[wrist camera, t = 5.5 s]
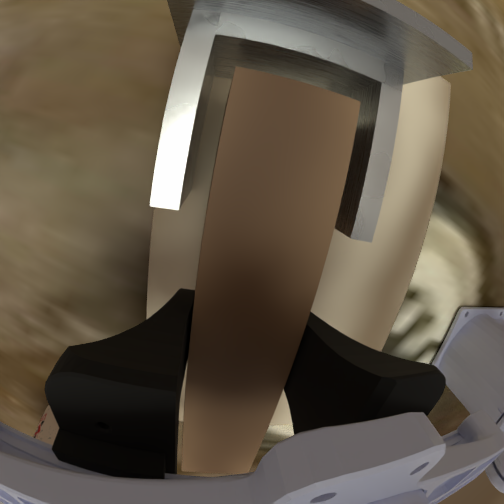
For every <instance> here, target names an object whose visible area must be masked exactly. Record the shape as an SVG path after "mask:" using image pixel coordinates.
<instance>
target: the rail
mask: <svg viewBox="0 0 504 504" xmlns="http://www.w3.org/2000/svg"><path fill="white" fill-rule="evenodd" d="M360 103H361V102H360V101H357V100H355V99H352V98H349V97H347V96H344V95H341V94H338V93H335V92H333V91H330V90H327V89H323V88H320V87H317V86H314V85H311V84H307V83H304V82H300V81H297V80H293V79H289V78H286V77H282V76H278V75H274V74H269V73H265V72H261V71H256V70H251V69H246V68H241V67H235V71H234V75H233V78H232V82H231V86H230V90H229V94H228V98H227V103H226V107H225V112H224V117H223V122H222V126H221V131H220V136H219V141H218V147H217V152H216V157H215V163H214V168H213V174H212V179H211V185H210V191H209V197H208V203H207V209H206V215H205V221H204V228H203V234H202V241H201V248H200V255H199V263H198V270H197V278H196V286H195V297H194V305H193V314H192V323H191V333H190V343H189V353H188V361H187V372H186V385H185V399H184V415H183V438H182V471H188V472H202V473H226V474H243V473H248V472H249V470H250V468H251V466H252V463H253V461H254V459H255V457H256V455H257V452H258V450H259V448H260V445H261V443H262V441H263V439H264V436H265V434H266V431H267V429H268V427H269V424H270V422H271V419H272V417H273V415H274V412H275V410H276V407H277V405H278V402H279V399H280V397H281V394H282V392H283V389H284V386H285V384H286V381H287V378H288V376H289V373H290V370H291V368H292V365H293V362H294V359H295V356H296V354H297V351H298V348H299V345H300V342H301V339H302V336H303V333H304V330H305V327H306V324H307V321H308V318H309V315H310V312H311V308H312V305H313V302H314V299H315V296H316V292H317V289H318V286H319V282H320V279H321V275H322V272H323V268H324V265H325V261H326V258H327V254H328V251H329V247H330V243H331V239H332V236H333V232H334V228H335V224H336V220H337V216H338V212H339V208H340V203H341V199H342V195H343V191H344V186H345V182H346V177H347V172H348V168H349V163H350V158H351V153H352V148H353V143H354V138H355V132H356V127H357V121H358V115H359V109H360Z"/></svg>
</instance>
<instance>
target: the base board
mask: <svg viewBox="0 0 504 504" xmlns="http://www.w3.org/2000/svg"><path fill="white" fill-rule="evenodd" d="M231 82H232V79H228V78H221V77H215V76H214V79H213V83H212V87H211V92H210V96H209V101H208V105H207V110H206V115H205V119H204V124H203V129H202V134H201V139H200V145H199V150H198V155H197V161H196V167H195V172H194V178H193V184H192V191H191V192H190V194H189V195H188V197H187V198H186V200H185V201H184V203H183V204H182V206H181V208H180V209H179V210H174V209H166V208H159V207H154V212H153V221H152V231H151V242H150V255H149V269H148V289H147V319H148V318H149V317H151V316H152V315H153V314H154V313H156V312H157V311H158V310H159V309H160V308H162V307H163V306H164V305H165V304H166V303H167V302H168V301H169V300H170V299H171V298H172V297H173V295H174V294H175V293H176V292H177V291H178V290H179V289H180V288H184V289H191V290H195V286H196V278H197V270H198V263H199V255H200V248H201V241H202V234H203V228H204V221H205V215H206V209H207V203H208V197H209V191H210V185H211V179H212V174H213V168H214V163H215V157H216V152H217V147H218V141H219V136H220V131H221V126H222V122H223V117H224V112H225V107H226V103H227V98H228V94H229V90H230V86H231ZM450 90H451V83H449V82H448V81H446V80H445V79H443V78H442V77H440V76H437V77H433V78H428V79H424V80H420V81H416V82H412V83H408V84H404V85H403V88H402V97H401V105H400V112H399V120H398V126H397V133H396V139H395V144H394V150H393V155H392V161H391V166H390V171H389V175H388V180H387V185H386V189H385V193H384V198H383V202H382V206H381V210H380V214H379V218H378V222H377V225H376V229H375V233H374V236H373V240H372V243H371V242H366V241H360V240H355V239H350V238H349V237H347V236H346V235H344V234H343V233H341V232H340V231H338V230H336V229H335V228H334V232H333V236H332V239H331V243H330V247H329V251H328V254H327V258H326V261H325V265H324V268H323V272H322V275H321V279H320V282H319V286H318V289H317V292H316V296H315V299H314V302H313V305H312V308H311V312H312V313H313V314H315V315H316V316H318V317H319V318H320V319H322V320H323V321H325V322H326V323H328V324H329V325H330V326H332V327H333V328H335V329H337V330H338V331H340V332H341V333H343V334H345V335H346V336H348V337H350V338H352V339H354V340H356V341H358V342H360V343H362V344H363V345H366V346H368V347H370V348H372V349H375V350H378V351H380V352H381V350H382V348H383V346H384V344H385V342H386V340H387V338H388V335H389V333H390V331H391V329H392V327H393V324H394V322H395V320H396V317H397V315H398V312H399V310H400V308H401V305H402V303H403V300H404V298H405V295H406V292H407V290H408V287H409V284H410V282H411V279H412V276H413V273H414V270H415V267H416V264H417V261H418V258H419V255H420V252H421V249H422V246H423V242H424V239H425V235H426V232H427V228H428V225H429V221H430V217H431V213H432V209H433V205H434V201H435V197H436V192H437V188H438V183H439V178H440V173H441V167H442V162H443V156H444V149H445V142H446V135H447V126H448V117H449V105H450ZM187 361H188V360H187ZM186 372H187V365H186V370H185V375H184V381H183V386H182V391H181V397H180V408H179V421H183V415H184V399H185V385H186ZM269 425H293V424H292V419H291V414H290V409H289V405H288V401H287V398H286V395H285V392H284V389H283V392H282V394H281V397H280V399H279V402H278V405H277V407H276V410H275V412H274V415H273V417H272V419H271V422H270V424H269Z"/></svg>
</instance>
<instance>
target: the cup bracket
mask: <svg viewBox="0 0 504 504" xmlns="http://www.w3.org/2000/svg"><path fill="white" fill-rule="evenodd" d="M167 2H168V5H169V9H170V12H171V16H172V19H173V22H174V26H175V29H176V33H177V36H178V40H179V43H180V46H181V50H180V53H179V57H178V61H177V64H176V68H175V72H174V76H173V80H172V84H171V88H170V92H169V96H168V101H167V105H166V110H165V115H164V119H163V124H162V130H161V135H160V140H159V146H158V152H157V158H156V164H155V171H154V177H153V185H152V192H151V200H150V206H151V207H159V208H166V209H174V210H179V209H180V208H181V206H182V204H183V203H184V201H185V200H186V198H187V197H188V195H189V194H190V192H191V191H192V184H193V178H194V172H195V167H196V161H197V155H198V150H199V145H200V139H201V134H202V129H203V124H204V119H205V115H206V110H207V105H208V101H209V96H210V92H211V87H212V83H213V79H214V76H215V77H221V78H228V79H232V78H233V75H234V71H235V67H241V68H246V69H251V70H256V71H261V72H265V73H269V74H274V75H278V76H282V77H286V78H289V79H293V80H297V81H300V82H304V83H307V84H311V85H314V86H317V87H320V88H323V89H327V90H330V91H333V92H335V93H338V94H341V95H344V96H347V97H349V98H352V99H355V100H357V101H360V102H361V103H360V109H359V115H358V121H357V127H356V132H355V138H354V143H353V148H352V153H351V158H350V163H349V168H348V172H347V177H346V182H345V186H344V191H343V195H342V199H341V203H340V208H339V212H338V216H337V220H336V224H335V229H336V230H338V231H340V232H341V233H343V234H344V235H346V236H347V237H349V238H350V239H355V240H360V241H366V242H371V243H372V240H373V236H374V233H375V229H376V225H377V222H378V218H379V214H380V210H381V206H382V202H383V198H384V193H385V189H386V185H387V180H388V175H389V171H390V166H391V161H392V155H393V150H394V144H395V139H396V133H397V126H398V120H399V112H400V105H401V97H402V88H403V85H404V84H408V83H412V82H416V81H420V80H424V79H428V78H433V77H437V76H442V75H447V74H452V73H457V72H462V71H468V70H473V65H472V53H471V52H470V51H469V50H468V49H467V48H465V47H464V46H463V45H462V44H461V43H459V42H458V41H457V40H455V39H454V38H453V37H452V36H450V35H449V34H448V33H446V32H445V31H443V30H442V29H441V28H439V27H438V26H436V25H435V24H433V23H432V22H431V21H429V20H428V19H426V18H424V17H423V16H421V15H420V14H418V13H417V12H415V11H413V10H412V9H410V8H408V7H407V6H405V5H403V4H401V3H400V2H398V1H396V0H167Z"/></svg>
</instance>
